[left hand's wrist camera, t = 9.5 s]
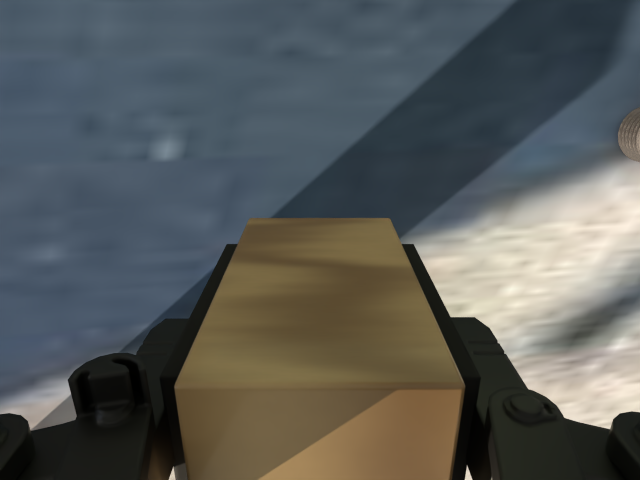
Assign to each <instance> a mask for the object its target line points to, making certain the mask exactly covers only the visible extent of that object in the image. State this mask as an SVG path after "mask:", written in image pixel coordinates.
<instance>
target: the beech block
mask: <svg viewBox="0 0 640 480" xmlns="http://www.w3.org/2000/svg"><path fill="white" fill-rule="evenodd" d="M174 388H175V395H176V402H177V409H178V416H179V423H180V430H181V437H182V443H183V450H184V457H185V464H186V471H187V478H188V480H452V474H453V468H454V461H455V454H456V447H457V440H458V433H459V426H460V420H461V413H462V406H463V399H464V392H465V384H464V382H463V379H462V377H461V375H460V373H459V370H458V368H457V366H456V364H455V362H454V359H453V357H452V355H451V353H450V350H449V348H448V346H447V344H446V342H445V339H444V337H443V335H442V333H441V330H440V328H439V326H438V324H437V322H436V319H435V317H434V315H433V313H432V311H431V308H430V306H429V304H428V302H427V299H426V297H425V295H424V293H423V291H422V288H421V286H420V284H419V282H418V279H417V277H416V275H415V273H414V271H413V268H412V266H411V264H410V262H409V260H408V257H407V255H406V253H405V251H404V248H403V246H402V244H401V242H400V240H399V237H398V235H397V233H396V231H395V228H394V226H393V224H392V222H391V220H390V219H389V218H250V219H249V220H248V223H247V225H246V227H245V229H244V231H243V234H242V236H241V238H240V240H239V243H238V245H237V247H236V249H235V251H234V254H233V256H232V258H231V260H230V263H229V265H228V267H227V269H226V272H225V274H224V276H223V278H222V280H221V283H220V285H219V287H218V289H217V292H216V294H215V296H214V298H213V300H212V303H211V305H210V307H209V309H208V312H207V314H206V316H205V318H204V321H203V323H202V325H201V327H200V329H199V332H198V334H197V336H196V338H195V341H194V343H193V345H192V347H191V349H190V352H189V354H188V356H187V358H186V361H185V363H184V365H183V367H182V370H181V372H180V374H179V376H178V378H177V381H176V383H175V386H174Z"/></svg>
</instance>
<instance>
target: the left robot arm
mask: <svg viewBox="0 0 640 480" xmlns="http://www.w3.org/2000/svg"><path fill="white" fill-rule="evenodd" d="M237 245H238V244H227V245H226V247H225V249H224V251H223V253H222V255H221V257H220V259H219V261H218V263H217V265H216V267H215V269H214V271H213V273H212V275H211V277H210V278H209V280H208V282H207V284H206V286H205V288H204V290H203V292H202V294H201V296H200V298H199V300H198V302H197V304H196V306H195V308H194V310H193V312H192V314H191V316H190V318H189V319H165V320H163V321H162V322H161V323H159V324H158V325H157V326H155V327H154V328H153V329H151V331H150V332H149V334H148V335H147V337H146V338H145V340H144V342H143V345H141V346H140V348H139V350H138V351H137V354H136V355H133V354H129V353H113V354H109V355H104V356H100V357H98V358H95V359H93V360H91V361H88V362H86V363H85V364H83V365H82V366H80V367H79V368H78V369H76V370H75V371H74V372H73V374H72V375H71V376H70V378H69V379H68V383H69V387H70V391H71V395H72V399H73V402H74V406H75V410H76V414H77V417H76V420H74V421H71V422H67V423H64V424H60V425H56V426H51V427H47V428H42V429H38V430H34V431H30V427H29V424H28V421H27V420H26V419H25V418H23V417H22V416H21V415H16V414H10V413H8V414H0V480H169V477H170V474H171V471H172V469H173V466H174V472H175V478H176V480H188V478H187V471H186V464H185V457H184V450H183V443H182V437H181V430H180V423H179V416H178V409H177V402H176V395H175V388H174V386H175V383H176V381H177V378H178V376H179V374H180V372H181V370H182V367H183V365H184V363H185V361H186V358H187V356H188V354H189V352H190V349H191V347H192V345H193V343H194V341H195V338H196V336H197V334H198V332H199V329H200V327H201V325H202V323H203V321H204V318H205V316H206V314H207V312H208V309H209V307H210V305H211V303H212V300H213V298H214V296H215V294H216V292H217V289H218V287H219V285H220V283H221V280H222V278H223V276H224V274H225V272H226V269H227V267H228V265H229V263H230V260H231V258H232V256H233V254H234V251H235V249H236V247H237ZM402 246H403V248H404V251H405V253H406V255H407V257H408V260H409V262H410V264H411V266H412V268H413V271H414V273H415V275H416V277H417V279H418V282H419V284H420V286H421V288H422V291H423V293H424V295H425V297H426V299H427V302H428V304H429V306H430V308H431V311H432V313H433V315H434V317H435V319H436V322H437V324H438V326H439V328H440V330H441V333H442V335H443V337H444V339H445V342H446V344H447V346H448V348H449V350H450V353H451V355H452V357H453V359H454V362H455V364H456V366H457V368H458V370H459V373H460V375H461V377H462V379H463V382H464V384H465V392H464V399H463V406H462V413H461V420H460V426H459V433H458V440H457V447H456V454H455V461H454V468H453V474H452V480H465V474H466V468H467V466H468V468H469V471H470V474H471V477H472V479H473V480H640V412H626V413H621V414H619V415H618V416H617V417H615V418H614V419H613V422H612V425H611V429H606V428H601V427H597V426H593V425H588V424H584V423H579V422H576V421H572V420H569V419H566V418H564V417H563V415H562V413H561V412H560V410H559V408H558V407H557V406H556V405H555V404H554V403H553V402H551V401H550V400H549V399H548V398H547V397H545V396H543V395H541V394H539V393H537V392H535V391H532V390H529V389H528V388H527V387H526V385H525V384H524V382H523V380H522V379H521V377H520V376H519V374H518V373H517V371H516V369H515V368H514V366H513V365H512V363H511V361H510V360H509V358H508V357H507V355H506V354H504V350H503V349H502V347H501V346H500V344H499V343H497V339H496V338H495V336H494V335H493V333H492V331H491V330H490V328H488V327H487V326H486V325H484V324H483V323H482V322H480V321H479V320H478V319H476V318H475V317H450V315H449V313H448V311H447V309H446V307H445V306H444V304H443V302H442V300H441V298H440V296H439V294H438V292H437V290H436V288H435V286H434V284H433V282H432V280H431V278H430V276H429V274H428V272H427V270H426V268H425V266H424V264H423V262H422V260H421V258H420V256H419V254H418V252H417V250H416V248H415V246H414V244H402Z"/></svg>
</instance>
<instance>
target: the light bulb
mask: <svg viewBox="0 0 640 480" xmlns="http://www.w3.org/2000/svg"><path fill="white" fill-rule="evenodd" d="M618 141H619V145H620V148H621V150H622V151H623V153H624V154H625V155H626V156H627V157H629V158H630V159H632V160H635V161H638V162H640V107H639V108H637V109H635V110H633V111H632V112H631V113H629V114H628V115H627V116H626V118H625V119H624V120H623V122H622V124H621V126H620V128H619V133H618Z"/></svg>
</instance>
